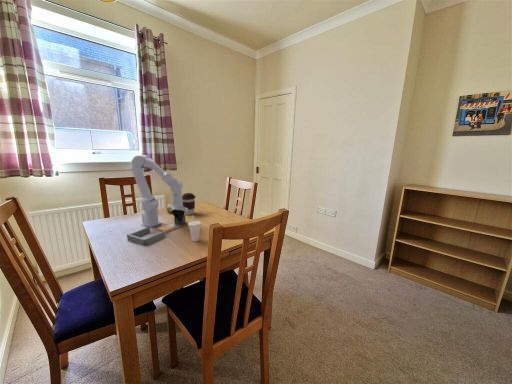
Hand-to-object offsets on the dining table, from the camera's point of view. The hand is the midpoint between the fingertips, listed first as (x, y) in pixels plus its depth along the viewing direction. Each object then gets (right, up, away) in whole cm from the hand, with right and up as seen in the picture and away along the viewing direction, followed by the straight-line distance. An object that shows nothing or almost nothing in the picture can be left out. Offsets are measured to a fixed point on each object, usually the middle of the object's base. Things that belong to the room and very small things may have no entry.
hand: (178, 220), depth 138 cm
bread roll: (-14, +3, +26) cm, 30 cm away
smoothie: (+17, -8, -22) cm, 28 cm away
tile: (-5, -5, -9) cm, 11 cm away
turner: (0, -3, 0) cm, 3 cm away
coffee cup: (0, +2, +22) cm, 22 cm away
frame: (-10, -7, -20) cm, 23 cm away
